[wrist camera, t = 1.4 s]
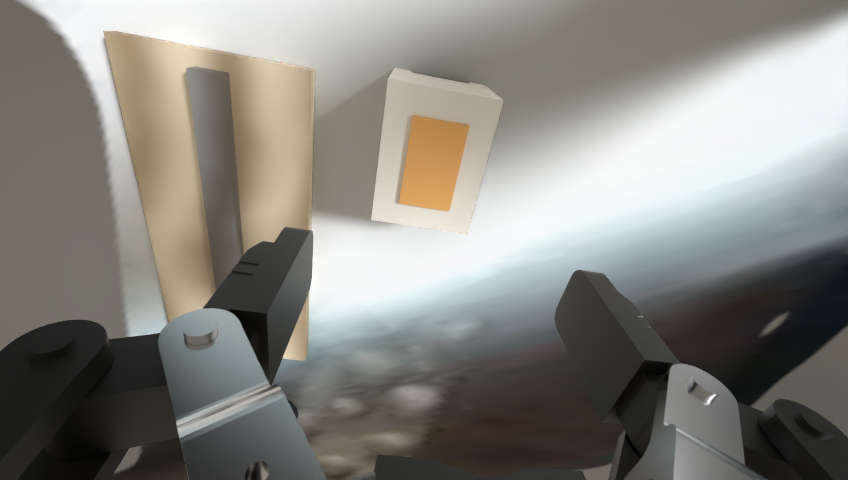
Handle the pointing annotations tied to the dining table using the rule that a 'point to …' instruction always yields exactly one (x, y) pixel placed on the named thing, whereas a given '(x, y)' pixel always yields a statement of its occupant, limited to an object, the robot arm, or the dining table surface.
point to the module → (433, 151)
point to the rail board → (214, 159)
